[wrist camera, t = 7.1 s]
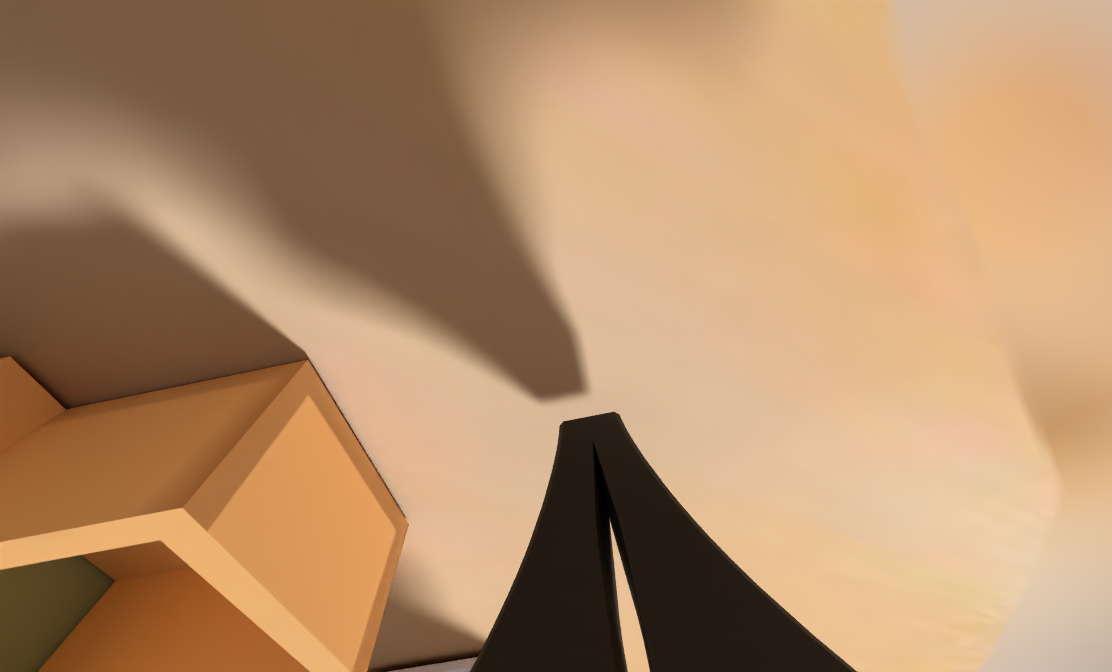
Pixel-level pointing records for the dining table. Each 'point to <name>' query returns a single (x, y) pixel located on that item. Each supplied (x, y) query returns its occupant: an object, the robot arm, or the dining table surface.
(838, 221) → the dining table surface
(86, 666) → the wooden drawer
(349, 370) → the dining table surface
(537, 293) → the dining table surface
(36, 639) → the green block with wheels
